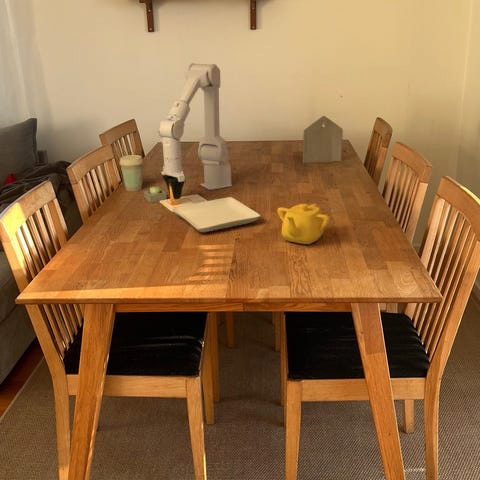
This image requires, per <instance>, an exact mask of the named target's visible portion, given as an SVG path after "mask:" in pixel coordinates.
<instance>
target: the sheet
mask: <svg viewBox="0 0 480 480" xmlns="http://www.w3.org/2000/svg"><path fill="white" fill-rule="evenodd" d="M206 201H208V200H207V199H205V198H204V197H202V196H201V195H199V193H198V194H197V193H196V194H190V195H186V196H184V195H183V196H181V198H180V203H179V204H176V205H173V204H171V199H170V198H168V199H167V200H161V201H159V203H160V204H161V205H163V206H164V207H165V208H167V209H168V210H169V211H170V212H172V213H175V212H174V211H173V208H176V207H181V206H186V205H191V204H196V203H201V202H206Z"/></svg>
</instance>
